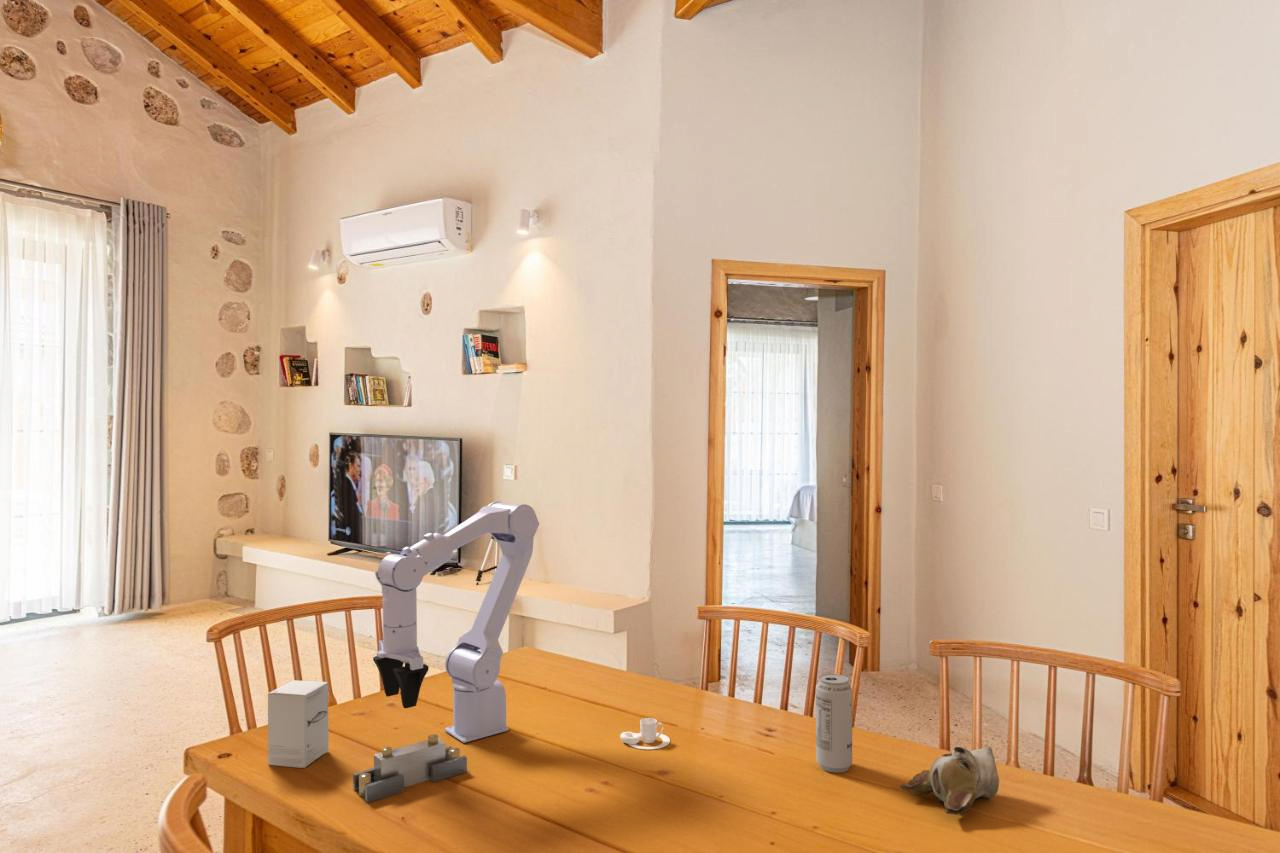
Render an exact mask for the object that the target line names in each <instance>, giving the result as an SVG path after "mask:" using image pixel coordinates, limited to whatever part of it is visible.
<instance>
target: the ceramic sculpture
mask: <svg viewBox="0 0 1280 853" xmlns="http://www.w3.org/2000/svg"><path fill="white" fill-rule="evenodd" d="M991 747H992V746H989V745H987V746H985V747H984V748H978V749H973V750H972V751H970V750H968V749H966V748H965V747H962V746H954V748H953V749H952V750H951V752H950V753H945V754H942V755H940V756H938V757H937V758H935V759H934V760H933V762H932V763H931V764H930V768H929V769H928V770H926V769H924V770H922V771H921V772H919V773H916V774H915V775H914V776H913V777H912V779H910V780H909V781H908V782H907V783H903V784H899V785H898V786H899V788H900V789H901V790H903V791H906V792H909V793H913V794H915V795H920V796H921V795H928V794H930V793H933V794H934V796H936V798H938V800H940V801H942V802H943V805H944V808H945V813H946V814H950V815H962V814H966V812H967V811H969V810H970V809H971V807H972V805H973V804H974V802H975V801H976V799H978V798H980V797H983V798H985V799H992V798H994V797H996V795H997V793H998V791H999V787H1000V777H999V773H998V768H997V764H996V760H995V756H994V753H993V748H991Z"/></svg>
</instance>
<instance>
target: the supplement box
mask: <svg viewBox="0 0 1280 853" xmlns="http://www.w3.org/2000/svg"><path fill="white" fill-rule="evenodd" d="M267 738H268V739H267V759H268V760H267V765H269V766H278V767H287V768H301V769H305V768H306V767H308V766H309V765H310V764H311V763H313V762H314V761H316V760H318V759H319V758H320V757H321V756H323V755H325V754H326V753H328V752H329V682H328V681H319V680H317V681H315V680H298V679H297V680H296V679H294V680H293V679H292V680H290V681H289V682H287V683H285V684H283V685H282V686H279V687H278V688H275V689H273V690H272V691H270V692H268V693H267Z"/></svg>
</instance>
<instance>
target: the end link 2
mask: <svg viewBox="0 0 1280 853" xmlns="http://www.w3.org/2000/svg"><path fill="white" fill-rule="evenodd" d="M460 750H461V749H460V748H459V747H453V746H451V745H450V746H447V747H446V746H445V760H446V761H445V762H442V763H438V764H435V765H432V766H431V779H430V780H431V782H432V783H436V782H440V781H443V780H446V779H448V778H449V779H450V778H452V777H456V776H458V775H462V774H465V773H468V757H467V756H466V755H463V756H461V754H460V753H461V751H460Z"/></svg>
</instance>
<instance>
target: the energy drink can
mask: <svg viewBox="0 0 1280 853" xmlns="http://www.w3.org/2000/svg"><path fill="white" fill-rule="evenodd" d="M849 682H850V681H849V678H848V677H847V676H845V675H841V674H837V673H825V674H822V675H820V676H819V681H818V683H817V684H816V686H815V760H816V762H817V764H819V765H818V766H819V767H820V769H821V770H823V771H826V772H829V773H835V774H836V773H840V774H841V773H845V772H847V771H848V770H849V769H850V767H851V766H852V765H853V688H852V686H851V684H850V683H849Z"/></svg>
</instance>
